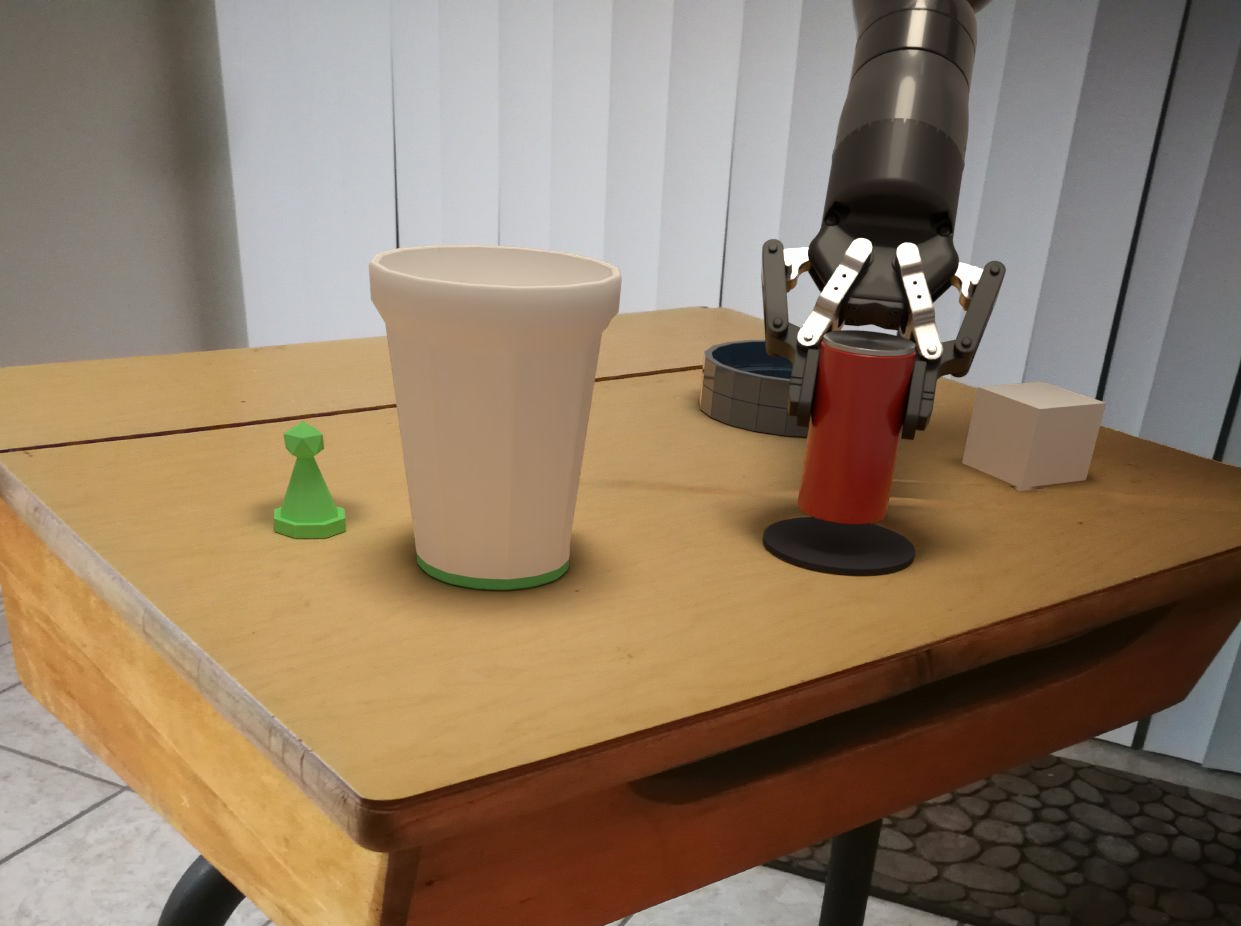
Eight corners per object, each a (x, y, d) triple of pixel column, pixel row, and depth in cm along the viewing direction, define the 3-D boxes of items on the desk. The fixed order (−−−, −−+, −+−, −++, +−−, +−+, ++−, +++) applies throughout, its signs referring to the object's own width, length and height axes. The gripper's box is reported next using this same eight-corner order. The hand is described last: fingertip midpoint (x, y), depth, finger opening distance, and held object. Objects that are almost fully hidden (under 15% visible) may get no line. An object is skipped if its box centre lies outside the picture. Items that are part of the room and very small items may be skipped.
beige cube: (1083, 491, 90) (1106, 402, 87) (1018, 500, 88) (1040, 409, 84) (1022, 466, 95) (1042, 380, 91) (959, 473, 92) (977, 386, 89)
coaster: (900, 527, 81) (901, 521, 81) (927, 579, 74) (928, 573, 74) (756, 518, 81) (757, 512, 81) (769, 570, 74) (770, 563, 73)
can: (878, 498, 79) (908, 333, 73) (893, 527, 74) (925, 354, 69) (793, 492, 78) (816, 326, 73) (802, 521, 74) (828, 347, 69)
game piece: (360, 532, 75) (355, 427, 72) (289, 543, 73) (281, 435, 70) (329, 510, 78) (323, 407, 75) (260, 520, 76) (251, 415, 73)
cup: (453, 622, 65) (451, 294, 57) (340, 545, 73) (324, 248, 65) (650, 579, 71) (674, 279, 63) (526, 513, 80) (532, 239, 71)
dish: (865, 402, 108) (875, 346, 106) (894, 451, 96) (905, 388, 94) (695, 392, 108) (700, 334, 105) (703, 439, 96) (709, 375, 93)
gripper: (776, 103, 73) (727, 373, 69) (1039, 124, 71) (1002, 403, 67) (771, 197, 80) (727, 446, 76) (1009, 219, 78) (975, 475, 75)
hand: (856, 424), depth 72 cm, fingers closed on can, 5 cm apart
